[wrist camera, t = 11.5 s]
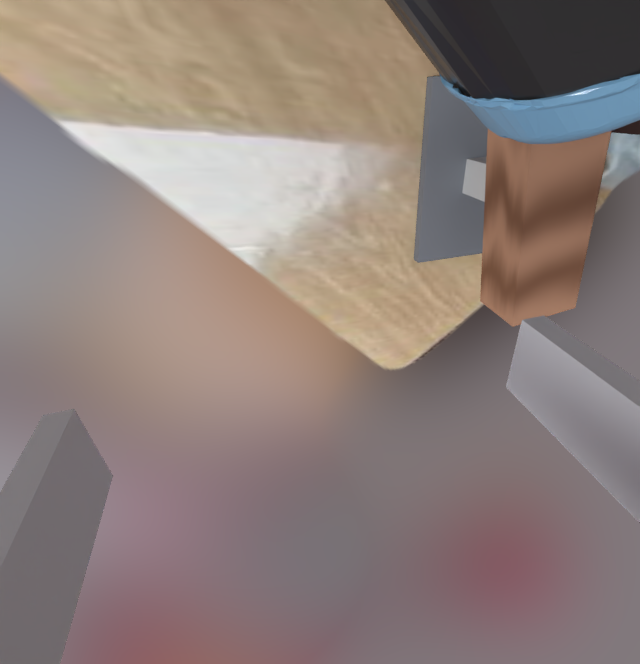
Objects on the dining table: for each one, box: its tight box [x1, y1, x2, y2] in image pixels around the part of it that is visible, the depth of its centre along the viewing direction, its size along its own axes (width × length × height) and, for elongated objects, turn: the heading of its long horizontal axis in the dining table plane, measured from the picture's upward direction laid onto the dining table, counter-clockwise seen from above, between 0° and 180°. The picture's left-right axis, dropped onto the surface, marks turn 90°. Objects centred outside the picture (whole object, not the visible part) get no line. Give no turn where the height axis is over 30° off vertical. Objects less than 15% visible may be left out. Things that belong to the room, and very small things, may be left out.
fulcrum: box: [414, 76, 488, 263], centre depth 35 cm, size 16×12×6 cm
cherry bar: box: [480, 129, 611, 327], centre depth 30 cm, size 20×6×5 cm, turn 11°
